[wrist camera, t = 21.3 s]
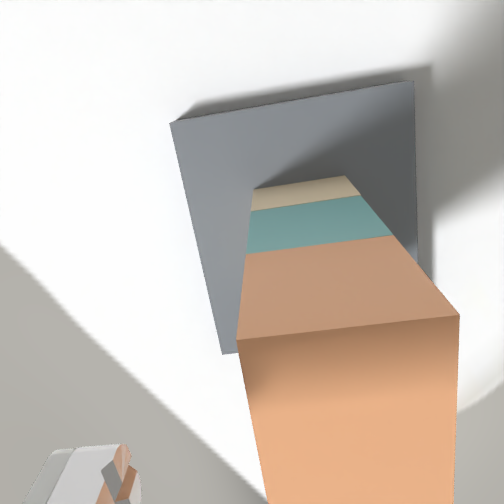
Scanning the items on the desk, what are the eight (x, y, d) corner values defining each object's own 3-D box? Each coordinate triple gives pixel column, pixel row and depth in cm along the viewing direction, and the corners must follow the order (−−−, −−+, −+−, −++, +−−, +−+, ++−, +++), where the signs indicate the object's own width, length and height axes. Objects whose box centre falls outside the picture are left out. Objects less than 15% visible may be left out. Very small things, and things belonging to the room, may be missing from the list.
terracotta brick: (245, 254, 14) (235, 339, 9) (393, 234, 14) (459, 314, 9) (270, 397, 16) (272, 525, 12) (397, 385, 16) (453, 511, 11)
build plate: (175, 120, 23) (148, 132, 17) (404, 80, 22) (447, 80, 16) (224, 340, 28) (215, 399, 23) (411, 317, 27) (445, 373, 22)
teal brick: (250, 211, 19) (245, 254, 14) (360, 195, 18) (393, 234, 14) (270, 327, 21) (271, 398, 16) (369, 315, 20) (399, 384, 16)
